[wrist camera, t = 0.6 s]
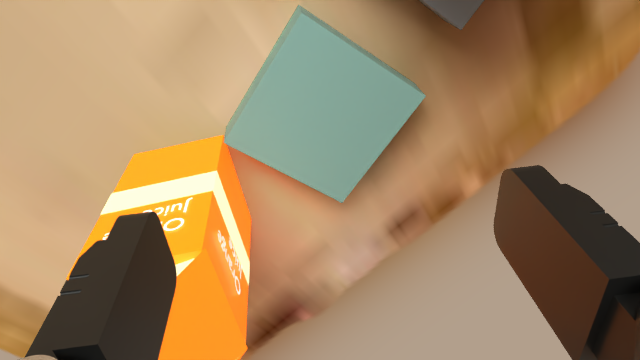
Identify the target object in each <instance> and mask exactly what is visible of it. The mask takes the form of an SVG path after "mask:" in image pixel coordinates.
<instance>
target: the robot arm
mask: <svg viewBox="0 0 640 360" xmlns="http://www.w3.org/2000/svg"><path fill="white" fill-rule="evenodd" d="M494 234H495V238H496V241H497V244H498V246H499V248H500V250H501V251H502V253H503V254H504V256H505V257H506V259H507V260H508V262H509V264H510V265H511V267H512V268H513V270H514V271H515V273H516V274H517V275H518V277H519V279H520V280H521V282H522V283H523V285H524V286H525V288H526V290H527V291H528V293H529V294H530V296H531V297H532V299H533V300H534V302H535V303H536V305H537V306H538V308H539V309H540V311H541V312H542V314H543V316H544V317H545V318H546V320H547V322H548V323H549V324H550V326H551V328H552V329H553V330H554V332H555V334H556V335H557V337H558V338H559V340H560V341H561V343H562V345H563V346H564V348H565V349H566V351H567V352H568V354H569V355H570V357H571V358H572V360H640V243H639V242H638V241H637V240H636V239H635V238H634V237H633V236H632V235H631V234H630V233H629V232H627V231H626V230H625V229H624V228H623V227H622V226H618V223H617V221H615V219H613V218H612V217H611V216H610V215H609V214H608V213H606V214H605V210H603V208H602V207H601V206H600V205H598V204H597V203H596V202H595V201H594V200H593V199H592V198H591V197H590V196H589V195H587V194H585V193H583V192H581V191H579V190H577V189H575V188H573V187H571V186H570V185H567V184H560V183H559V182H558V181H557V180H556V179H555V178H554V177H553V176H552V175H551V174H550V173H549V172H548V171H547V170H546V169H545V168H543V167H542V166H539V165H537V166H529V167H520V168H512V169H506V170H505V171H504V172H503V173H502V176H501V181H500V187H499V193H498V199H497V206H496V212H495V218H494ZM176 284H177V273H176V265H175V261H174V258H173V256H172V253H171V250H170V247H169V244H168V241H167V239H166V236H165V233H164V230H163V227H162V224H161V222H160V219H159V217H158V215H157V214H156V213H155V212H154V211H152V212H144V213H136V214H128V215H120V216H118V217H117V219H116V221H115V223H114V225H113V227H112V229H111V231H110V233H109V235H108V237H107V239H106V240H98V241H96V242H95V243H94V244H93V245H92V246H91V247H90V248H89V249H88V250H87V251H85V252H84V253H83V254H82V255H81V256H80V257H79V258H78V260H77V262H76V264H75V266H74V268H73V269H72V271H71V273H70V275H69V280H66V282H65V284H64V286H63V288H62V290H61V292H60V293H61V295H60V296H58V297H57V299H56V301H55V303H54V304H53V306H52V308H51V310H50V312H49V314H48V315H47V317H46V319H45V321H44V323H43V325H42V327H41V328H40V330H39V332H38V334H37V336H36V338H35V339H34V341H33V343H32V345H31V347H30V349H29V350H28V352H27V354H26V356H25V358H21V359H19V360H158V358H159V354H160V350H161V346H162V342H163V338H164V334H165V330H166V326H167V322H168V318H169V314H170V310H171V306H172V302H173V298H174V294H175V290H176Z"/></svg>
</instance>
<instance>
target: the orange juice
mask: <svg viewBox="0 0 640 360" xmlns="http://www.w3.org/2000/svg"><path fill="white" fill-rule="evenodd" d="M223 142H224V136H223V135H222V136H217V137H213V138H208V139H203V140H199V141H194V142H189V143H185V144H180V145H176V146H171V147H166V148H162V149H157V150H152V151H148V152H143V153H139V154H134V156H133V157H132V159H131V161H130V163H129V165H128V167H127V168H126V170H125V172H124V174H123V176H122V178H121V179H120V181H119V183H118V185H117V187H116V189H115V190H114V192H113V193H112V194H111V196H110V198H109V200H108V201H107V203H106V205H105V207H104V209H103V210H102V212H101V216H100V218H99V220H98V221H97V223H96V225H95V227H94V229H93V231H92V232H91V234H90V236H89V238H88V240H87V242H86V243H85V245H84V247H83V249H82V251H81V253H80V254H79V256H78V258H79V257H80V256H81V255H82V254H83V253H84V252H85V251H87V250H88V249H89V248H90V247H91V246H92V245H93V244H94V243H95V242H96V241H98V240H106V239H107V237H108V235H109V233H110V231H111V229H112V227H113V225H114V223H115V221H116V219H117V217H118V216H120V215H128V214H136V213H144V212H152V211H154V212H155V213H156V214H157V215H158V217H159V219H160V222H161V224H162V227H163V230H164V233H165V236H166V239H167V241H168V244H169V247H170V250H171V253H172V256H173V258H174V261H175V265H176V273H177V284H176V290H175V294H174V298H173V302H172V306H171V310H170V314H169V318H168V322H167V326H166V330H165V334H164V338H163V342H162V346H161V350H160V354H159V358H158V360H240V358H241V357H242V356H243V354H244V353H245V351H246V350H247V349H248V348H247V346H246V325H247V302H248V285H249V271H250V262H249V257H250V234H251V217H250V214H249V211H248V208H247V205H246V202H245V199H244V196H243V193H242V190H241V187H240V184H239V181H238V178H237V175H236V172H235V169H234V166H233V163H232V160H231V157H230V154H229V151H228V148H227V145H226V144H225V143H223ZM78 258H77V260H78ZM77 260H76V262H77ZM76 262H75V264H76ZM75 264H74V265H73V267H72V269H73V268H74V266H75ZM72 269H71V271H72ZM71 271H70V273H71ZM70 273H69V274H68V276H67V278H66V279H67V280H69V275H70Z"/></svg>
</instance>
